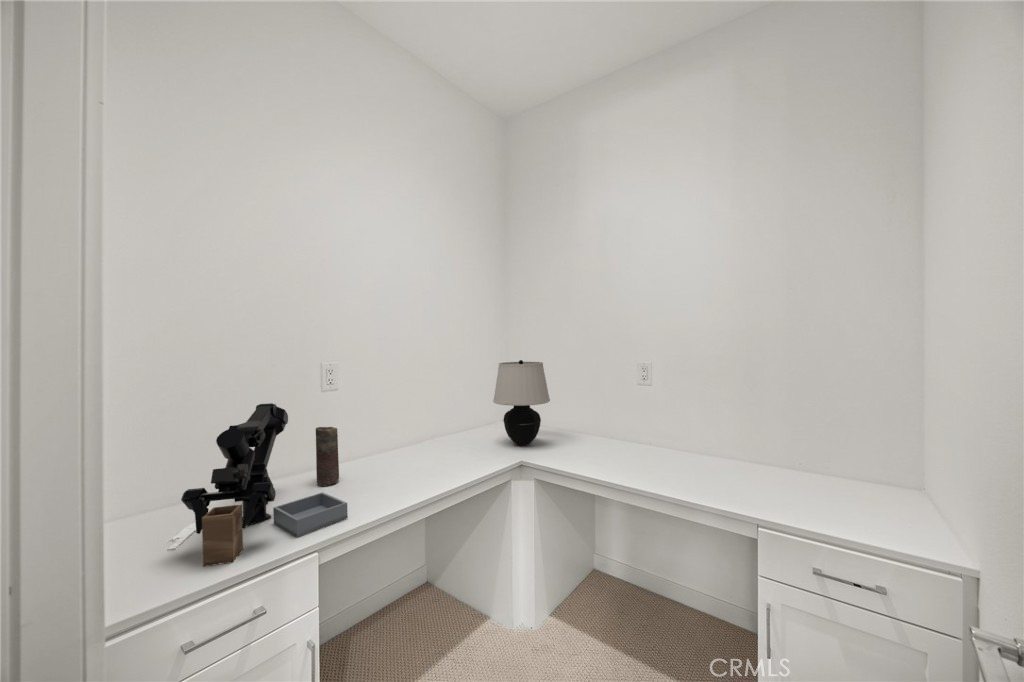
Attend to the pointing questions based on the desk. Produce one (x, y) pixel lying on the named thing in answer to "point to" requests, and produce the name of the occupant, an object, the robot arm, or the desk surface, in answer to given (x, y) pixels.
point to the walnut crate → (222, 534)
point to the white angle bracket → (182, 536)
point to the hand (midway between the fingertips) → (221, 530)
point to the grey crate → (309, 514)
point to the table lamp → (521, 398)
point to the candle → (327, 456)
